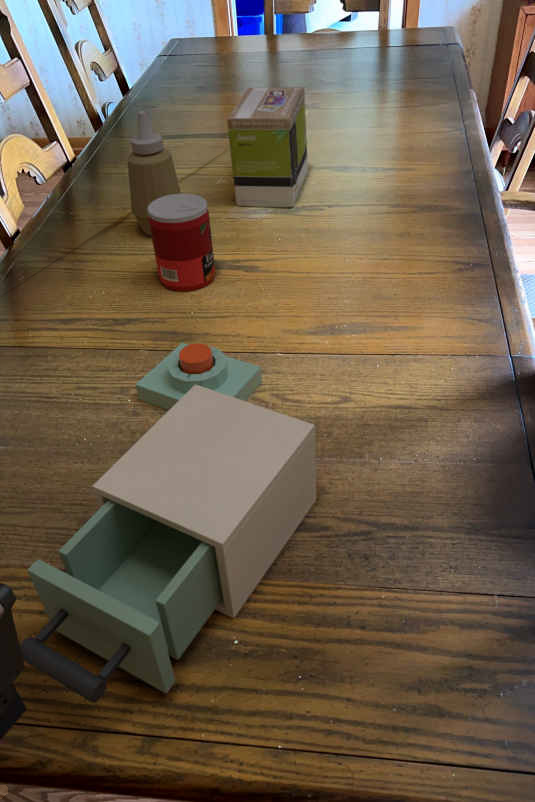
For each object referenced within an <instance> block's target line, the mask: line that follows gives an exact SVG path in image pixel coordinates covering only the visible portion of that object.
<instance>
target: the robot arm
mask: <svg viewBox="0 0 535 802" xmlns="http://www.w3.org/2000/svg"><path fill="white" fill-rule="evenodd" d="M16 601H17V596H16V594H15V593H14V590H13V589H12V588H11V587H10V586H8V585H7V584H6V583H3V582H0V741H1V740H2V739H3V738H4V737H5V736H6V735H7V733H8V732H9V731H10V730H11V729H12V728H13V726H14V725H15V724H16V723H17V722H18V720H19V719H20V718H21V717H22V716H23V714H24V713H25V712H26V711H27V710H28V708H27V706H26V704H25V703H24V701H23V699H22V697H21V696H20V693H19V692H18V690H17V689H16V686H15V684H14V682H15V680H17V678H18V677H19V676H20V675H21V673H23V671H24V670H25V669H26V665H25V661H23V657H22V652H21V648H20V644H21V643H20V641H19V637H18V633H17V628H16V625H15V620H14V616H13V612H12V611H13V610H12V608H13V607H14V605H15V603H16Z"/></svg>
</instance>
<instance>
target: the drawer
mask: <svg viewBox="0 0 535 802" xmlns="http://www.w3.org/2000/svg"><path fill="white" fill-rule="evenodd" d="M58 554H59V557H60V560H61V562H62V564H63V567H64V570H65V572H64V571H63V570H61V569H59V568H57V567H55V566H53V565H51V564H49V563H48V562H45V561H43V560H41V559H39V558H38V559H36V560H35V561H34V562H33V564H31V566H30V567H28V568H27V573H28V576H29V578H30V580H31V582H32V585H33V587H34V588H35V591H36V593H37V596H38V598H39V600H40V603H41V604H42V607H43V610H44V611H45V614H46V616H47V618H48V620H49V621H48V622H47V623H46V624H45V626H44V627H42V629H41V630H40V631H39V632H38V633H37V634H36V635H35V636H33V637H32V636H28V637H26V638H24V639H23V640H22V641H21V642H20V643H19V644H20V648H21V652H22V657H23V661H24V663H26V664H28V665H30V666H32V667H33V668H34V669H36V670H38V671H40V672H41V673H42V674H44V675H46V676H48V677H49V678H50V679H52V680H54V681H55V682H57V683H59V684H61V685H62V686H64V687H66V688H68V689H69V690H70V691H72V692H74V693H76V695H78V696H80V697H82V698H84V699H85V700H87V701H89V702H90V703H91V704H96V703H98V702H99V701H100V700H101V699H102V698H103V696H104V695H105V693H106V691H107V687H108V681H109V679H110V677H111V676H112V675H113V674H114V673H115V671H116V670H117V669H118V668H120V669H122V670H124V671H125V672H127V673H129V674H131V675H132V676H134V677H136V678H138V679H139V680H141V681H143V682H145V683H147V684H148V685H149V686H151V687H154V688H155V689H157V690H159V691H161V692H162V693H164V694H168V692H169V691H170V690H171V688H172V687H173V685H174V684H175V682H176V677H175V674H174V669H173V666H172V663H171V659H170V657H171V658H173V659H175V660H177V661H179V659H180V658H181V657H182V655H184V653H185V651H186V650H187V648H188V647H189V646H190V645H191V643H192V642H193V640H194V639H195V637H196V636H197V634H199V632H200V631H201V629H202V628H203V627H204V625H205V623H206V622H207V621H208V619H209V618H210V617H211V616H212V614H213V613H214V611H215V608H216V607H217V606H218V604H219V603H220V601H221V600H222V599H223V593H222V587H221V581H220V575H219V569H218V563H217V557H216V551H215V546H212V545H210V544H208V543H206V542H203V541H201V540H199V539H197V538H195V537H192V536H190V535H188V534H186V533H183V532H181V531H179V530H177V529H174V528H172V527H170V526H168V525H166V524H163V523H161V522H159V521H157V520H154V519H152V518H150V517H148V516H146V515H143V514H141V513H139V512H137V511H134V510H132V509H130V508H128V507H125V506H123V505H121V504H119V503H117V502H114V501H112V500H110V499H109V500H108V501H107V502H106V503H105V504H104V505H103V506H102V507H101V508H100V509H99V508H98V510H97V511H96V512H95V513H93V514H92V515H91V516H90V518H89V519H88V520H87V521H86V522H85V523H84V524H83V525H82V526H81V527H80V528H79V529H78V530H77V531H76V532H75V533H74V534H73V536H72V537H70V539H68V540H67V542H66V543H65V544H64V545H62V546H61V548H60V549H59V550H58ZM54 632H58V633H59V634H61V635H63V636H64V637H66V638H68V639H70V640H71V641H73V642H76V643H77V644H78V645H80V646H82V647H83V648H84V649H85V648H86V649H87V650H88V651H90V652H92V653H94V654H96V655H97V656H99V657H101V658H103V659H105V660H106V661H107V662H106V664H105V665H104V666H103V667H102V669H100V671H99V672H98V674H96V673H93V672H92V671H91V670H89V669H88V668H85V667H84V666H82V665H81V664H79V663H77V662H76V661H74V660H72V659H70V658H68V657H67V656H66V655H63V654H62V653H60V652H59V651H57V650H55V649H54V648H52V647H50V646H48V645H46V644H45V643H46V642H47V641H48V639H49V638H50V637H51V636H52V635H53V634H54Z"/></svg>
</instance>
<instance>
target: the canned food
mask: <svg viewBox="0 0 535 802" xmlns="http://www.w3.org/2000/svg"><path fill="white" fill-rule="evenodd" d="M147 209H148V218H149V224H150V230H151V235H150V236H151V240H152V246H153V252H154V257H155V262H156V268H157V274H158V278H159V280H160V282H161V284H162V286H164V287H165V288H166V289H169V290H172V291H177V292H192V291H196V290H201V289H203V288H204V287H207V286H208V285H210V284H211V283H212V282H213V281H214V278H215V275H216V274H215V273H216V266H215V265H216V264H215V256H214V247H213V238H212V230H211V229H212V228H211V221H210V213H209V206H208V202H207V200H206V199H205V198H204V197H202V196H200V195H197V194H194V193H193V194H192V193H181V194H173V195H167V196H164V197H161V198H158V199H156V200H154V201H153V202H151V203H150V204H149V206H148V208H147Z"/></svg>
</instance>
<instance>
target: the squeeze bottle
mask: <svg viewBox="0 0 535 802" xmlns="http://www.w3.org/2000/svg"><path fill="white" fill-rule="evenodd" d="M136 122H137V124H136V125H137V127H136V135H133V136H132V137H131V138H130V147H131V152H130V153H129V155H128V156H127V158H126V161H127V171H128V172H127V175H128V184H129V185H128V186H129V193H130V194H129V196H130V208H131V212H132V214H133V216H134V217H135V219H136V221H137V223H138V225H139V227H140V228H141V230H142V232H143V233H144V234H146V235H147V236H152V235H151V230H150V224H149V218H148V209H147V208H148V206H149V204H150V203H151V202H153V201H154V200H156V199H158V198H161V197H164V196H167V195H173V194H182V192H181V188H180V184H179V181H178V177H177V172H176V168H175V165H174V160H173V156H172V153H171V151H170V150H169V149H168V148H166V147H165V145H164V139H163V136H162V135H161V134H160V133H157V132H154V129H153V126H152V123H151V121H150V119H149V115H148V113H147V111H146V110H140V111H138V112H137V121H136Z"/></svg>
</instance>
